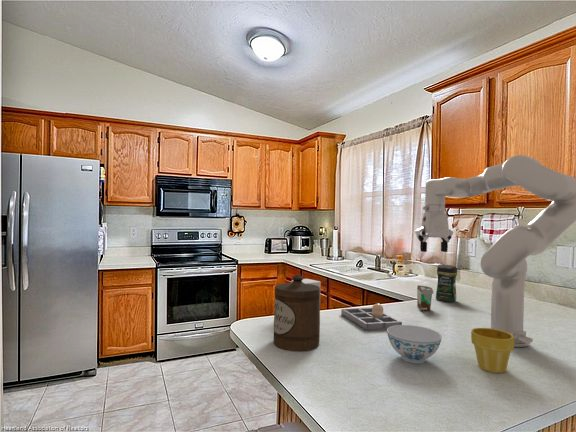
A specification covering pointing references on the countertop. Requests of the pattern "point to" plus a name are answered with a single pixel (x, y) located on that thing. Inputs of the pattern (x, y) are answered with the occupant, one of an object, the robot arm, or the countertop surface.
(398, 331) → the chinaware
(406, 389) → the countertop surface
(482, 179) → the robot arm
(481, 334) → the plant pot
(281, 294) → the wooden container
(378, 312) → the egg
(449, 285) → the coffee jar
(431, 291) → the food container
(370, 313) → the grey compartment tray
